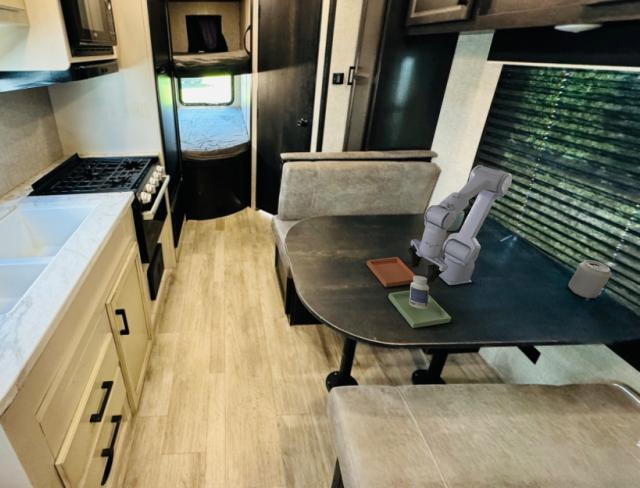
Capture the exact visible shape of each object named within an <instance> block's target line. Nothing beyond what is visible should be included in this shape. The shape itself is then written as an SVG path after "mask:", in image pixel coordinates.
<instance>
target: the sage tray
mask: <svg viewBox="0 0 640 488" xmlns="http://www.w3.org/2000/svg"><path fill="white" fill-rule="evenodd" d="M409 299H410V290H402V291H395V292H390V293H389V294H388V300H389V301H390V302H391V303H392V304H393V306H394V307H395V308H396V309H397V311H398V312H399V314H401V315H402V317H403V318H404V319H405V320H406V322H407V323H408V324H409V326H411V328H412V329H415V328H422V327H428V326H434V325H440V324H447V323H450V322H451V320H452V316H451V315H449V313H448V312H447V311H445V309H444V308H443V307H442V306H440V304H438V302H437V301H436V300H435V299H434V298H433V297H432V296H431V295H430V294H429V295H428V306H427V308H426V309H419V308H415V307H413V306H411V305H410V304H409Z"/></svg>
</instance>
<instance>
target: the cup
mask: <svg viewBox="0 0 640 488" xmlns="http://www.w3.org/2000/svg"><path fill="white" fill-rule="evenodd" d="M465 213H466V212H465V211H464V210H462V211H461V212H460V213H459V214H458V215H457V218H456V219H455V220H454V222H453V224H452V225H451V226H450V227H449V228H447V231H449V232H456V231H458V230H459V228H460V227H461V225H462V223H463V220H464V217H465Z"/></svg>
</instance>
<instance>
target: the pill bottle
mask: <svg viewBox="0 0 640 488" xmlns="http://www.w3.org/2000/svg"><path fill="white" fill-rule="evenodd" d="M413 281H414V282H412V283H411V284H409V285H410V286H409V287H410V289H409V291H410V299H409V304H410V305H411V306H413V307H415V308H419V309H426V308H427V306H428V295H430V286H429V285H428V282H427V277H425V276H421V275H416V276H414V277H413Z"/></svg>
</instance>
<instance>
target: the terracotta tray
mask: <svg viewBox="0 0 640 488" xmlns="http://www.w3.org/2000/svg"><path fill="white" fill-rule="evenodd" d="M366 266H367V267H368V268H369V270H370V271H371V272H372V273H373V274H374V276H375V277H376V278H377V279H378V280H379V281H380V283H381V284H382V285H383V286H384V288H389V287H399V286H405V285H411V283H412V282H414V281H413V277H414V276H417V275H416V274H415V273H414V272H413V271H412V270H411V269H410V268H409V267H408V266H407V265H406V264H405V263H404V262H403V261H402V260H401V259H400V258H399V257H398V256H394V257H386V258H377V259H369V260H367V261H366Z"/></svg>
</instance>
